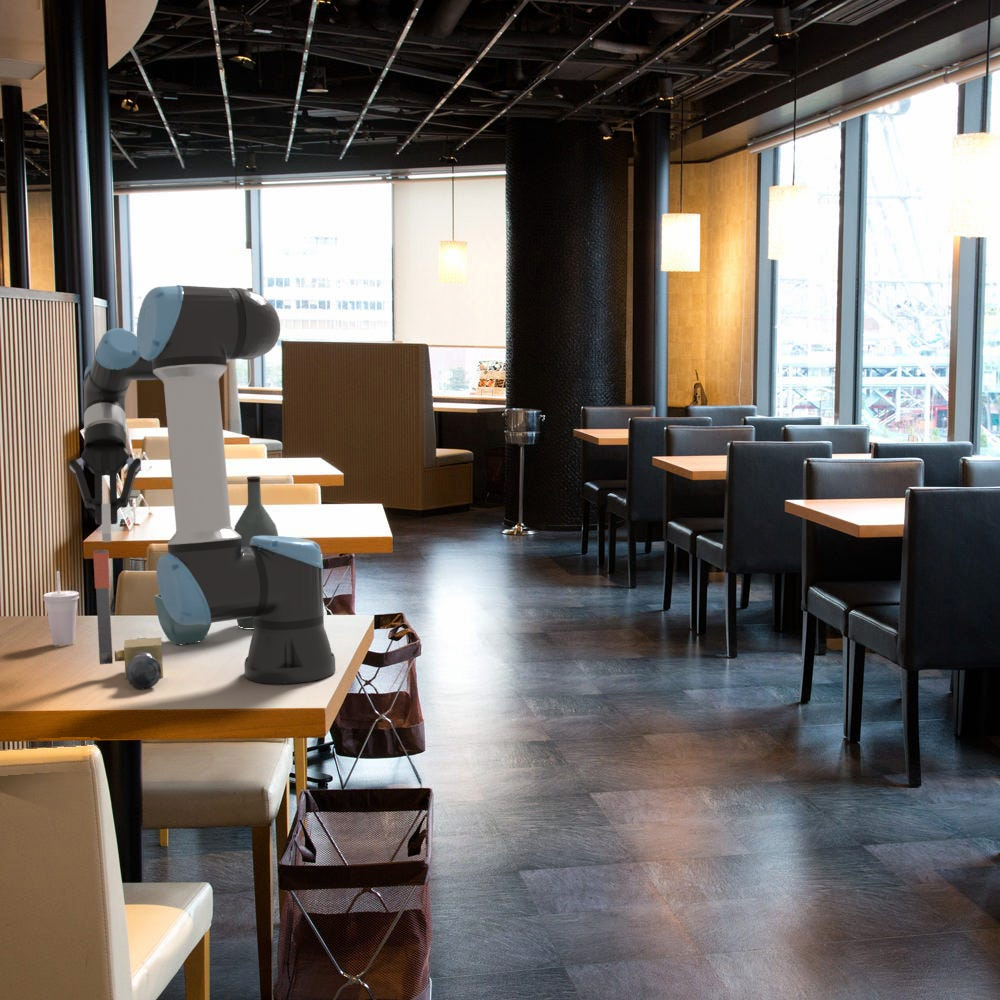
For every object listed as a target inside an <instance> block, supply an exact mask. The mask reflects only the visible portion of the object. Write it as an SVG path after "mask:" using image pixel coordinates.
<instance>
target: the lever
mask: <svg viewBox="0 0 1000 1000" xmlns="http://www.w3.org/2000/svg"><path fill="white" fill-rule="evenodd" d="M92 554H93V571H94V572H93V573H94V589H96V590H95V593H96V613H97V614H96V615H97V632H98V655H99V656H98V657H99V658H98V659H99V665H110V664H113V662H114V661H113V659H114V658H113V642H112V641H113V640H112V622H111V621H112V620H111V601H110V598H111V597H110V588H111V582H110V581H111V579H110V578H111V577H110V562H109V560H110V559H109V550H108V549H96V550H95V549H94V551H93V553H92Z"/></svg>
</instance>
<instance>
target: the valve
mask: <svg viewBox="0 0 1000 1000" xmlns="http://www.w3.org/2000/svg"><path fill="white" fill-rule="evenodd" d="M162 645H163V643H162V637H150V638H149V637H148V638H147V637H142V638H136V639H135V638H134V639H124V645H123V649H122V650H121V649H120V650H119V649H118V650H114V661H115V662H124V671H125V672H124V676H125V677H124V678H125V681H127V682H128V683H129V685H131V686H132V687H133V688H135V689H138V690H147V689H150V688H152V687H154V686H156V684H157V683H158V682H159V680H160V678H164V668H163V649H162Z"/></svg>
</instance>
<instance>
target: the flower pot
mask: <svg viewBox="0 0 1000 1000" xmlns="http://www.w3.org/2000/svg"><path fill="white" fill-rule="evenodd" d="M153 596H154V602H155V607H156V614H157V617H158V622H159V624H160V628H161V629H162V632H163V633H164V635H165V636H166V638H167V639H168V641H169V642H171V641H172V643H173V642H174V643H173V644H175V645H176V644H182V645H185V644H184V643H189V644H191V643H190V642H195V643H199V642H198V641H202V642H203V641H204V640H205V639H206V636H207V635H208V633H209V631H210V629H211V625H212V623H209V624H207V625H202V624H196V625H182V624H179V623H177V622H176V621H175V620H174V619H173V618H172V617H171V616H170V615H169V613H168V611H167V610H166V608H165V606H164V603H163V601H162V598H161V595H160V593H159V594H155V595H153Z"/></svg>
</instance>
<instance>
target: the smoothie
mask: <svg viewBox="0 0 1000 1000" xmlns="http://www.w3.org/2000/svg"><path fill="white" fill-rule="evenodd" d="M60 574H61V573H60V571H59V570H57V571H56V587H57V589H56V590H55V591H51V592H46V593H44V594H43V599H42V600H43V602H45V609H46V613H47V617H48V624H49V628H50V634H51V639H52V645H53V644H55V645H69V646H71V645H70V644H73V643H74V644H75V640H76V639H75V637H76V624H77V612H78V611H77V610H78V600H79V599H80V596H79V595H80V594H79V592H78V591H76V590H61V577H60V576H61V575H60ZM74 644H73V645H74Z"/></svg>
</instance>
